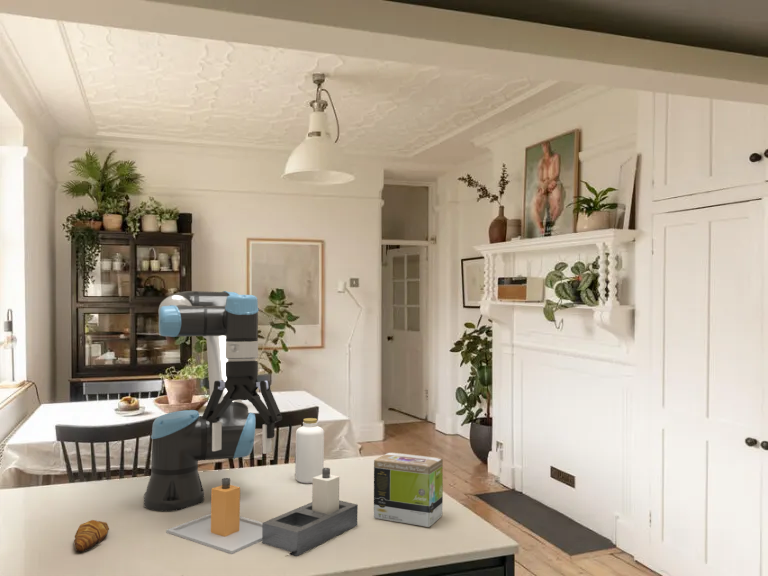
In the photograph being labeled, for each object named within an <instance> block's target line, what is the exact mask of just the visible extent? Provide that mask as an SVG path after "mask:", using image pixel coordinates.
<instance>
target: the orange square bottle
mask: <svg viewBox="0 0 768 576" xmlns="http://www.w3.org/2000/svg"><path fill="white" fill-rule="evenodd" d="M210 496H211V497H210V498H211V499H210V500H211V502H210V503H211V504H210V508H211V509H210V514H211V533H214V534H217V535H220V536H224V537H226V536H228V535H230V534H233V533H235V532H238V531H239V526H240V514H241V511H240V510H241V508H240V507H241V503H240V502H241V486H238V485H233V484H231V479H230V477H229V478H228V477H224V478H222V479H221V485H219V486H215V487H212V488H211V495H210Z"/></svg>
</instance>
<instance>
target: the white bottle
mask: <svg viewBox="0 0 768 576" xmlns="http://www.w3.org/2000/svg"><path fill="white" fill-rule="evenodd" d="M318 424H319V423H318V419H317V418H315V417H314V418H313V417H307V418H303V422H302V426H300V427H298V428H297V429H296V431H295V459H294V460H295V467H294V468H295V469H294V471H295V473H294V479H296V481H297V482H299V483H302V484H313V478H314V477H316V476H319V475H322V469H323V468H325V467H324V464H325V462H324V461H325V460H324V459H325V458H324V457H325V453H324V452H325V430H324V429H323V427H320V426H319V425H318Z"/></svg>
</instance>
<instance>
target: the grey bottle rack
mask: <svg viewBox="0 0 768 576" xmlns="http://www.w3.org/2000/svg"><path fill="white" fill-rule="evenodd" d="M358 510H359V508H358V504H357V503H352V502H348V501H344V500H340V499H339V510H337V511H335V512H333V513H330V514H324V513H320V512H316V511H312V501H311V502H309V503H307V504H304V505H302V506H299V507H297V508H294V509H292V510H290V511H287V512H285V513H282V514H280V515H278V516H275V517H273V518H271V519H268V520H265V521H263V523H262V541H261V543H262V544H264V545H267V546H271V547H274V548H276V549H277V548H278V549H281V550H283V551H286V552H288V554H289V555H291V556H295V557H299V556H300V555H302V554H304V553H306V552H309V551H311V550H312V549H315V548H316V547H318V546H320V545H322V544H324V543H326V542H328V541H330V540H332V539H333V538H335V537H336V538H337V536H340V535H341V534H344V533H345V532H348V531H350V530H352V529H354V528H355V527H357V526H358V513H359V512H358Z"/></svg>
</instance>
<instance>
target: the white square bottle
mask: <svg viewBox="0 0 768 576" xmlns="http://www.w3.org/2000/svg"><path fill="white" fill-rule="evenodd" d="M311 492H312V494H311V495H312V496H311V498H312V499H311V500H312V501H311V502H312V511H316V512H320V513H324V514H330V513H333V512H335V511H337V510H339V500H340V476H339V475H338V476H337V475H334V474H331V468H330V467H324V468H323V469H322V475H319V476H316V477H314V478H313V483H312V491H311Z"/></svg>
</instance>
